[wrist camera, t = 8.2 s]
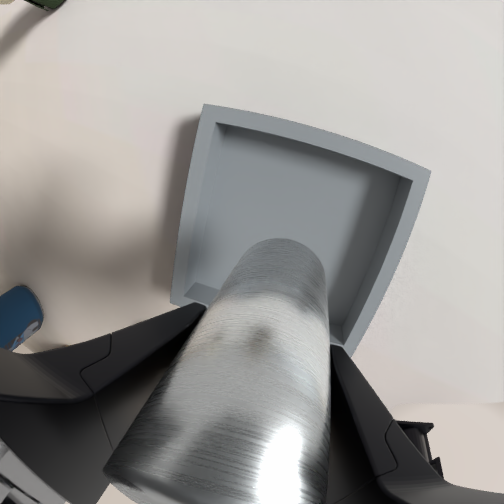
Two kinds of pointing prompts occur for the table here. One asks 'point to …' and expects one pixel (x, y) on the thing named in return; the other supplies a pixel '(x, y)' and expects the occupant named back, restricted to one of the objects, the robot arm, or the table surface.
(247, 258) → the pin
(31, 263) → the table surface
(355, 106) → the table surface
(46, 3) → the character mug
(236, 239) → the tray
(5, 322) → the soda can
